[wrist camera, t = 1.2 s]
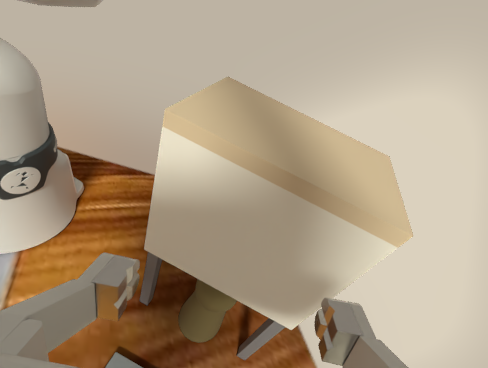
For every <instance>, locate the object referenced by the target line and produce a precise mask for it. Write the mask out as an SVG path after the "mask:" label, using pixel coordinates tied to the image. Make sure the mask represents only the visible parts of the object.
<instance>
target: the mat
mask: <svg viewBox="0 0 488 368" xmlns="http://www.w3.org/2000/svg"><path fill="white" fill-rule="evenodd" d="M105 368H143V367H141V366H139V365H137V364H136V363H134V362H132V361H131V360H129V359H127V358H125V357H124V356H122V355H120V354H118V353H117V352H115V354H114V355H113V357H112V358H111V360H110V361H109V363H108V364H107V366H106V367H105Z"/></svg>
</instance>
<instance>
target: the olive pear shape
mask: <svg viewBox="0 0 488 368" xmlns="http://www.w3.org/2000/svg"><path fill="white" fill-rule="evenodd" d="M236 302H237V300H235V299H234V298H232V297H230V296H228V295H226V294H225V293H223V292H221V291H219V290H217V289H215V288H214V287H212V286H210V285H208V284H206V283H204V282H203V281H201V280H199V279H197V283H196V290H195V291H194V293H193V294H192V295H191V296H190V297H189V298H188V300H187V301H186V302H185V303H184V305H183V306H182V308H181V309H180V313H179V326H180V329H181V332H182V333H183V334H184V336H185V337H186V338H188V339H189V340H191V341H194V342H198V343H200V342H206V341H208V340H210V339H212V338H213V337H214V336H215V335H216V334H217V332H218V330H219V328H220V326H221V323H222V321H223V318H224V315H225V313H226V311H227V310H229V309H230V308H231V307H232V306H233V305H234V304H235V303H236Z"/></svg>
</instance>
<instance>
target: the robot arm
mask: <svg viewBox="0 0 488 368" xmlns="http://www.w3.org/2000/svg"><path fill="white" fill-rule="evenodd" d="M19 1H23V2H28V3H32V4H37V5H47V6H66V7H67V6H68V7H95V6H97V5H98V4H100V3H101V2H102V1H103V0H19ZM83 190H84V186H83V183H82V182H81V181H79V180H78V179H76V178H75V177H73V173H72V169H71V165H70V161H69V158H68V156H67V154H64V153H63V152H61V151H60V150H58V149H57V140H56V137H55V134H54V131H53V128H52V126H51V125H50V124H49V122H48V120H47V115H46V109H45V103H44V98H43V92H42V87H41V81H40V77H39V75H38V72H37V70H36V69H35V67H34V66H33V64H32V63H31V62H30V61H29V60H28V59H27V57H26V56H24V55H23V54H22V53H21V52H20V51H19V50H17V49H16V48H15V47H14V46H12V45H11V44H9V43H8V42H6V41H5V40H3V39H1V38H0V254H4V253H11V252H17V251H21V250H25V249H28V248H31V247H34V246H36V245H39V244H41V243H43V242H45V241H47V240H49V239H51V238H52V237H54V236H55V235H57V234H58V233H59V232H61V231H62V230H63V229H64V228H65V227H66V226H67V225H68V224H69V222H70V221H71V219H72V218H73V216H74V213H75V209H76V201H77V199H78V197H79V196H80V195H81V194H82V192H83ZM139 267H140V261H139V260H136V259H131V258H127V257H123V256H118V255H113V254H108V253H103V254H101V255H100V256H99V257H98V258H97V259H96V260H95V261H94V262H93V263H92V264H91V265H90V267H89V268H88V269H87V270H86V271H85V272H84V273H83V274H82V275H81V276H80V277H79V278H78V279H77V280H75V279H73V280H71V281H68V282H66V283H64V284H61V285H59V286H57V287H54V288H52V289H50V290H48V291H45V292H43V293H41V294H38V295H36V296H34V297H32V298H29V299H27V300H25V301H22V302H20V303H18V304H15V305H13V306H11V307H9V308H6V309H4V310H2V311H0V368H78V367H73V366H68V365H63V364H58V363H52V362H49V358H48V353H49V352H50V351H51V350H53V349H54V348H56V347H57V346H59V345H60V344H61V343H63V342H64V341H66V340H67V339H69V338H70V337H71V336H73V335H74V334H76V333H77V332H79V331H80V330H81V329H83V328H84V327H86V326H87V325H88V324H90V323H91V322H93V321H94V320H96V318H101V319H107V320H114V321H118V320H119V319H120V317H121V315H122V314H123V312H124V310H125V309H126V307H127V301H128V300H129V299H131V298H132V297H133V295H134V293H135V291H136V289H137V286H138V282H139V274H138V273H137V271H138V269H139ZM321 306H322V309H320V310H318V312H317V314H316V316H315V331H316V335H317V336H318V337H319V339H320V340H321V341H320V343H319V350H320V354H321V359H322V361H323V362H328V363H332V364H336V365H341V366H343V368H408V367H407V366H406V365H405V364H404V363H403V362H402V361H401V360H400V359H399V358H398V357H397V356H396V355H395V354H394V353H393V352H392V351H391V350H390V349H389V348H388V347H386V346H385V344H384V343H383V342H382V341H380V340H377V339H376V337H375V335H374V333H373V330H372V328H371V326H370V324H369V322H368V319H367V317H366V315H365V313H364V311H363V308H362V306H361V305H360V304H357V303H352V302H346V301H341V300H336V299H331V298H326V297H325V298H324V299H323V300H322V302H321Z"/></svg>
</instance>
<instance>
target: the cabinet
mask: <svg viewBox="0 0 488 368" xmlns="http://www.w3.org/2000/svg"><path fill="white" fill-rule="evenodd" d="M411 237H413V233H412V229H411V226H410V223H409V220H408V216H407V213H406V210H405V206H404V203H403V200H402V197H401V193H400V190H399V187H398V183H397V180H396V177H395V174H394V170H393V167H392V164H391V160H390V157H389V156H387V155H385V154H383V153H381V152H379V151H377V150H375V149H373V148H371V147H369V146H367V145H365V144H363V143H361V142H359V141H357V140H355V139H353V138H351V137H349V136H347V135H345V134H343V133H341V132H339V131H337V130H335V129H333V128H331V127H329V126H327V125H324V124H323V123H321V122H319V121H317V120H315V119H313V118H311V117H308V116H306V115H304V114H302V113H300V112H298V111H296V110H294V109H292V108H290V107H288V106H286V105H284V104H282V103H280V102H278V101H276V100H274V99H272V98H270V97H268V96H266V95H264V94H262V93H260V92H258V91H256V90H254V89H252V88H250V87H248V86H246V85H244V84H242V83H240V82H238V81H236V80H234V79H232V78H230V77H226V78H224V79H222V80H221V81H218V82H217V83H215V84H213V85H211V86H209V87H207V88H205V89H203V90H201V91H199V92H197V93H195V94H193V95H191V96H189V97H188V98H186V99H184V100H182V101H180V102H178V103H176V104H174V105H172V106H170V107H168V108H166V109H165V113H164V120H163V126H162V133H161V140H160V147H159V153H158V160H157V166H156V173H155V179H154V186H153V193H152V199H151V206H150V213H149V219H148V226H147V232H146V239H145V246H144V250H146V251H148V255H147V261H146V267H145V273H144V279H143V285H142V290H141V296H140V302H142V303H144V304H145V305H148V304H149V302H150V301H151V300H152V298H153V295H154V291H155V286H156V282H157V278H158V274H159V270H160V266H161V262H162V259H163V260H164V261H166V262H168V263H170V264H172V265H173V266H175V267H177V268H179V269H181V270H183V271H184V272H186V273H188V274H190V275H192V276H194V277H195V278H197V279H199V280H201V281H203V282H204V283H206V284H208V285H210V286H212V287H214V288H215V289H217V290H219V291H221V292H223V293H225V294H226V295H228V296H230V297H232V298H234V299H235V300H237V301H239V302H241V303H243V304H245V305H246V306H248V307H250V308H252V309H254V310H256V311H257V312H259V313H261V314H263V315H265V316H266V317H268V318H269V319H268V320H267V321H266V322H264V323H263V324H262V325H261V326H260V327H259V328H258V329H257V330H256V331H255V332H254V333H253V334H252V335H251V336H250V337H249V338H248V339H247V340H246V341H245V342H244V343H243V344H241V345H240V347H239V350H238V353H237V356H238V357H240V358H242V359H243V360H246V359H247V358H248V357H249V356H250V355H252V354H253V353H254V352H255V351H257V350H258V349H259V348H260V347H262V346H263V345H264V344H265V343H266V342H268V341H269V340H270V339H271V338H273V337H274V336H275V335H276V334H277V333H279V332H280V331H281V330H282V329H284V328H285V327H287V328H288V329H290V330H292V329H293V328H295V327H296V326H297V325H299V324H300V323H301V322H303V321H304V320H305V319H306V318H308V317H309V316H310V315H312V314H313V313H314V312H315V311H317V310H318V309H319V308H321V307H322V306H321V302H322V300H323V299H324V298H325V297H326V298H331V299H332V298H334V297H335V296H336V295H338V294H339V293H340V292H341V291H343V290H344V289H345V288H346V287H348V286H349V285H350V284H352V283H353V282H354V281H356V280H357V279H358V278H360V277H361V276H362V275H363V274H365V273H366V272H367V271H369V270H370V269H371V268H372V267H374V266H375V265H376V264H378V263H379V262H380V261H381V260H383V259H384V258H385V257H387V256H388V255H389V254H390V253H392V252H393V251H394V250H396V249H397V248H398V247H400V246H401V245H402V244H404V243H405V242H406V241H408V240H409V239H410V238H411Z"/></svg>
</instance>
